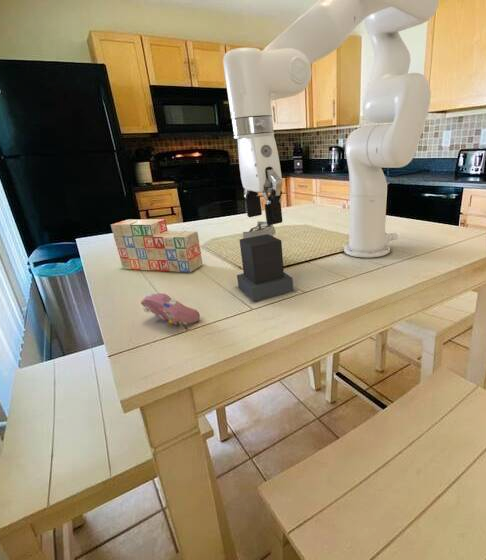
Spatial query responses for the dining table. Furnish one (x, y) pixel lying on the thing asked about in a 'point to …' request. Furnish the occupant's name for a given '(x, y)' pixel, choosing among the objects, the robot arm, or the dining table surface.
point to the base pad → (265, 287)
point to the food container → (260, 230)
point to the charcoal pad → (263, 271)
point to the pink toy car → (169, 309)
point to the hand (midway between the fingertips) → (264, 219)
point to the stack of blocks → (156, 246)
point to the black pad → (261, 249)
